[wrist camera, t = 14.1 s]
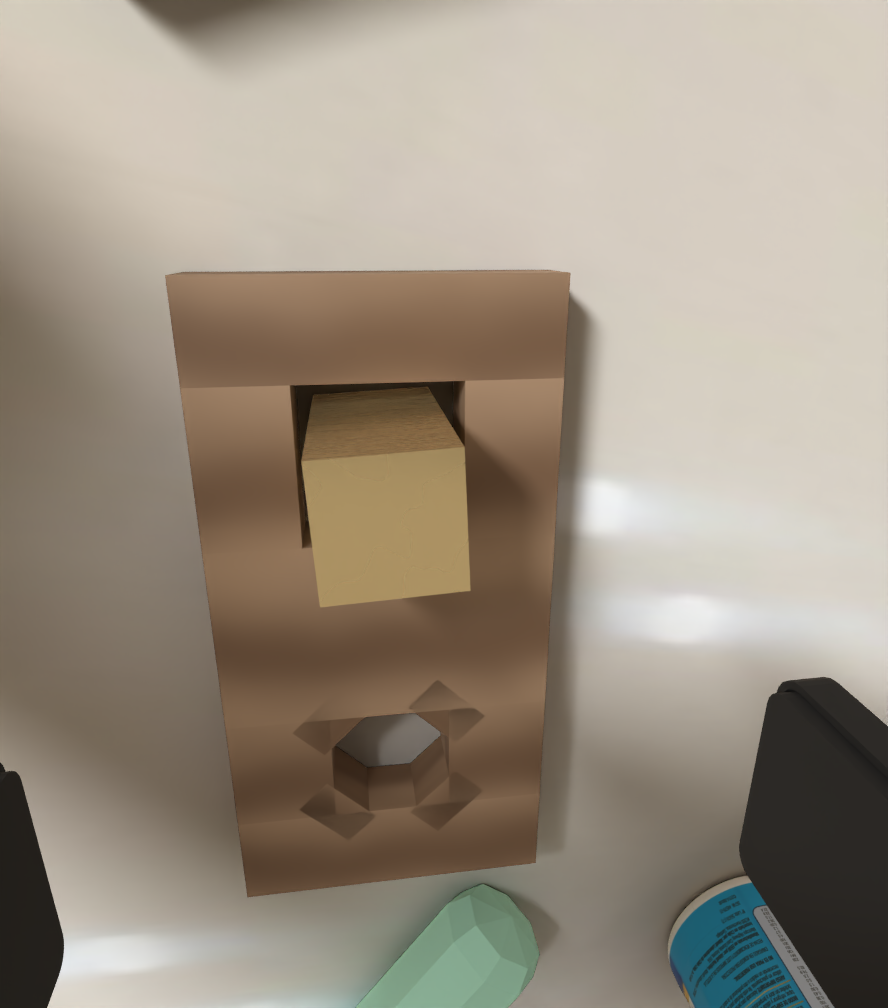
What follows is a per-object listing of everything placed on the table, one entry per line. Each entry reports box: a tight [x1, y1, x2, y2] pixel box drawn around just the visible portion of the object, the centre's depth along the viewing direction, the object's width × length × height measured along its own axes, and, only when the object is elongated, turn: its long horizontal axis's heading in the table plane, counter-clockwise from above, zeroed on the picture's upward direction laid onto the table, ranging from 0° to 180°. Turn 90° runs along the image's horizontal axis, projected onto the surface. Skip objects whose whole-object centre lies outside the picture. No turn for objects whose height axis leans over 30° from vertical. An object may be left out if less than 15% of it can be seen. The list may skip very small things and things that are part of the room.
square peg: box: [301, 386, 471, 607], centre depth 22 cm, size 4×4×8 cm
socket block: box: [165, 270, 570, 897], centre depth 26 cm, size 24×12×2 cm, turn 0°
